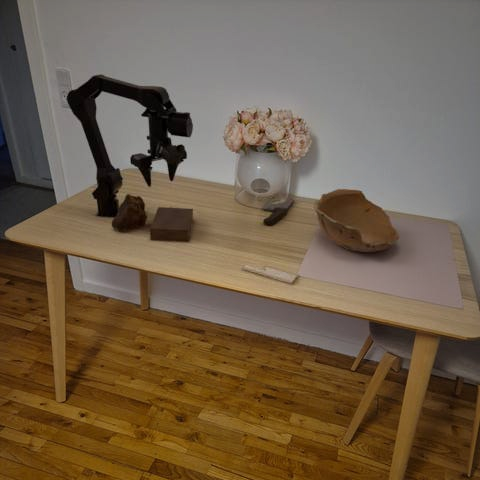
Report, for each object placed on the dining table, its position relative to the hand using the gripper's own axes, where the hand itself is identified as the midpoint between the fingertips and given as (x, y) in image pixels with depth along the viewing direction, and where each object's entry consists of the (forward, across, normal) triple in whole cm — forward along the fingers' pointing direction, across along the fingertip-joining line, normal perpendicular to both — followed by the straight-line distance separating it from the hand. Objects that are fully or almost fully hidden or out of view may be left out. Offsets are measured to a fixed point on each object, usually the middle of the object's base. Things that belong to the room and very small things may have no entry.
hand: (160, 183), depth 143 cm
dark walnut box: (+13, -1, -7) cm, 15 cm away
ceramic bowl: (+13, +38, -53) cm, 66 cm away
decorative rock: (+14, -11, +3) cm, 18 cm away
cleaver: (+13, +38, -20) cm, 45 cm away
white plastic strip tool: (+13, 0, -48) cm, 50 cm away
